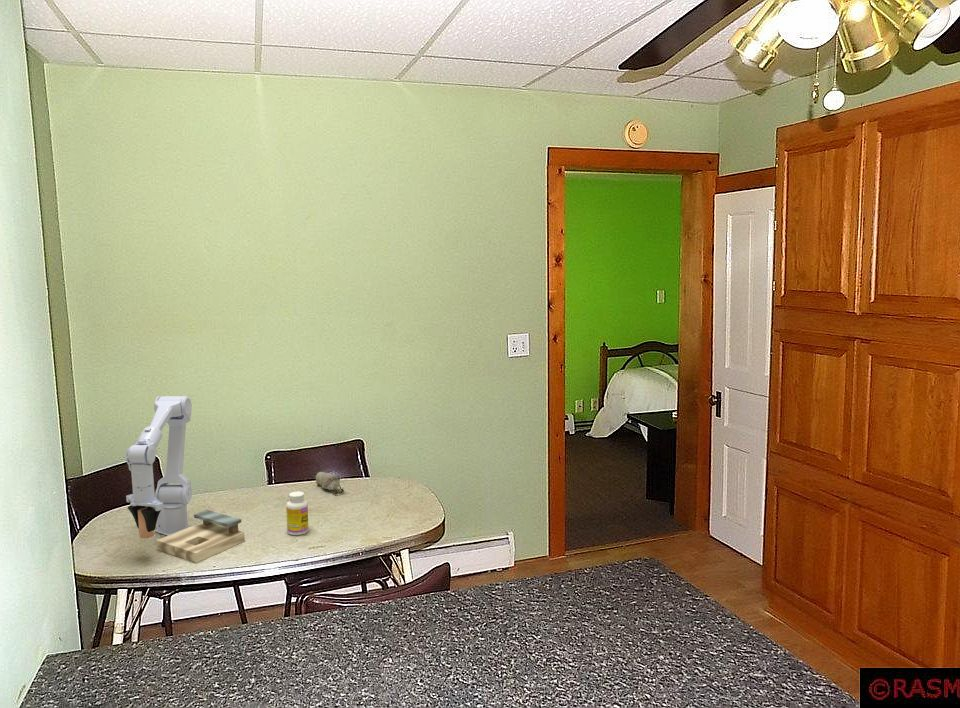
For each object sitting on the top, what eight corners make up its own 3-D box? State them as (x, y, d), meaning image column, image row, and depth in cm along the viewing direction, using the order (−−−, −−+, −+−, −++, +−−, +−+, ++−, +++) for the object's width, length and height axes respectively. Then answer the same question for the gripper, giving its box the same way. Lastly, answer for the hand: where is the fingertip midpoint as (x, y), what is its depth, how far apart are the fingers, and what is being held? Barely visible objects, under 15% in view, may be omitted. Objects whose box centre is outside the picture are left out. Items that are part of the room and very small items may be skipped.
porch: (157, 549, 225) (155, 527, 223) (206, 529, 240) (204, 509, 239) (196, 562, 215) (194, 540, 214) (244, 541, 231) (243, 519, 230)
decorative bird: (323, 483, 285) (323, 464, 284) (346, 494, 273) (346, 474, 272) (311, 486, 281) (310, 467, 280) (334, 497, 269) (333, 477, 268)
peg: (136, 536, 217) (134, 510, 216) (148, 531, 220) (146, 506, 219) (145, 539, 215) (143, 513, 214) (157, 534, 218) (155, 509, 217)
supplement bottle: (303, 536, 234) (301, 498, 232) (283, 535, 235) (282, 496, 233) (312, 528, 241) (310, 491, 239) (293, 527, 242) (291, 489, 240)
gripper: (115, 484, 216) (118, 528, 218) (146, 493, 208) (149, 539, 210) (137, 477, 221) (140, 520, 224) (168, 486, 214) (171, 530, 216)
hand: (146, 529), depth 217 cm, fingers closed on peg, 4 cm apart
